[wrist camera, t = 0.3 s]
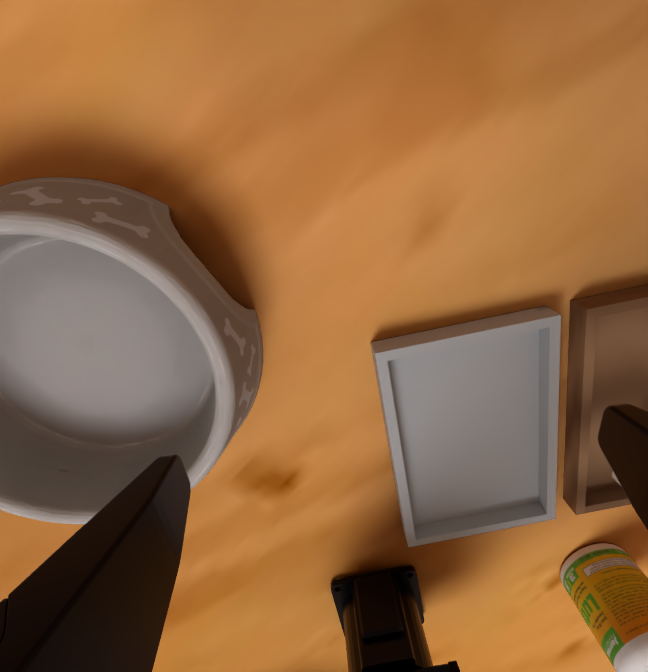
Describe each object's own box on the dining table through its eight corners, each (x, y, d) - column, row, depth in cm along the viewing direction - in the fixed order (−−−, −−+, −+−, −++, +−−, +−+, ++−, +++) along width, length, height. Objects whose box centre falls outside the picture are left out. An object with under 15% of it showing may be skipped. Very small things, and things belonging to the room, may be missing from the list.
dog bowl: (80, 95, 19) (4, 75, 14) (320, 377, 26) (326, 431, 21) (-145, 311, 22) (-271, 356, 17) (118, 513, 29) (81, 587, 24)
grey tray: (543, 502, 30) (555, 518, 29) (403, 529, 30) (408, 547, 29) (546, 305, 24) (561, 314, 23) (370, 342, 24) (375, 353, 23)
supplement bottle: (553, 553, 32) (649, 705, 24) (622, 531, 32) (749, 678, 23) (563, 596, 35) (655, 750, 26) (628, 576, 34) (746, 726, 25)
